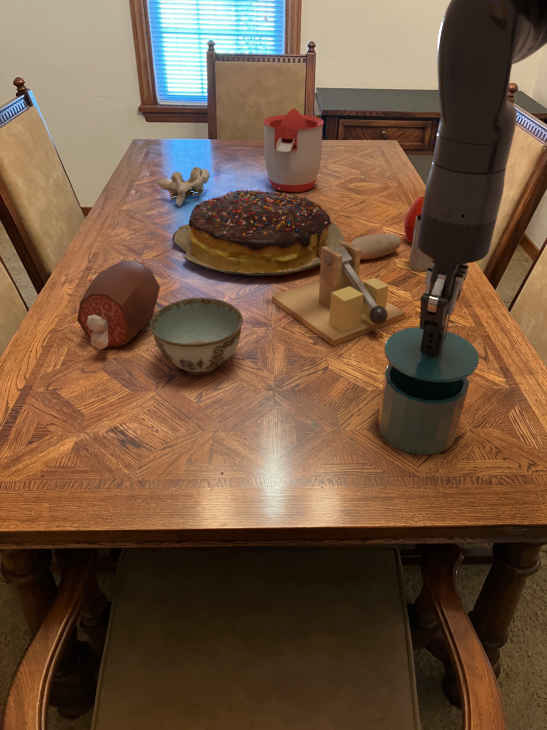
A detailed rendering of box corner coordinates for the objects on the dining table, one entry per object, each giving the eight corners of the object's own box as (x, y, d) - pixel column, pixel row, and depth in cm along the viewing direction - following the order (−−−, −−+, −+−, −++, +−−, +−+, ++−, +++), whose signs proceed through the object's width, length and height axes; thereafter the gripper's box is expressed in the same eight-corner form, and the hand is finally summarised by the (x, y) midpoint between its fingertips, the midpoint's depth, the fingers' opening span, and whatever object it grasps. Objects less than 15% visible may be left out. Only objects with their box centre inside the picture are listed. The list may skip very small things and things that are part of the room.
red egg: (433, 253, 122) (441, 204, 116) (396, 245, 126) (402, 197, 119) (443, 239, 128) (452, 192, 122) (408, 232, 131) (414, 185, 125)
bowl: (247, 340, 94) (246, 298, 90) (240, 391, 83) (238, 345, 79) (165, 339, 95) (159, 296, 90) (147, 389, 84) (140, 343, 79)
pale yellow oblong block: (360, 325, 96) (363, 294, 92) (341, 332, 94) (344, 300, 91) (347, 317, 98) (350, 285, 95) (328, 323, 96) (331, 292, 93)
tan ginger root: (162, 205, 149) (154, 173, 145) (202, 189, 156) (196, 159, 152) (182, 208, 143) (174, 175, 139) (224, 191, 151) (217, 160, 146)
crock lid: (484, 347, 72) (496, 301, 68) (467, 397, 64) (480, 348, 60) (398, 326, 76) (404, 281, 72) (371, 370, 68) (377, 323, 64)
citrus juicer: (254, 194, 152) (252, 114, 140) (273, 175, 165) (273, 100, 154) (311, 200, 148) (314, 118, 137) (326, 180, 162) (330, 104, 150)
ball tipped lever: (386, 324, 95) (394, 315, 92) (372, 330, 94) (380, 320, 91) (339, 255, 99) (346, 244, 97) (326, 259, 98) (332, 248, 95)
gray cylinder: (434, 264, 118) (443, 216, 112) (426, 273, 114) (435, 224, 108) (413, 259, 120) (420, 212, 114) (405, 267, 116) (412, 219, 110)
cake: (301, 207, 145) (301, 167, 140) (377, 263, 117) (381, 216, 111) (159, 232, 134) (153, 189, 128) (205, 299, 106) (200, 249, 100)
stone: (338, 245, 119) (382, 218, 122) (349, 272, 121) (392, 245, 124) (353, 246, 114) (399, 218, 117) (364, 274, 116) (408, 246, 119)
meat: (135, 365, 88) (125, 308, 82) (65, 358, 90) (51, 301, 84) (175, 303, 104) (169, 251, 99) (115, 297, 106) (106, 246, 100)
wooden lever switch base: (404, 318, 100) (414, 256, 93) (333, 346, 93) (338, 281, 86) (339, 279, 112) (343, 221, 105) (271, 301, 105) (271, 241, 98)
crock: (462, 416, 79) (475, 366, 74) (446, 464, 71) (459, 412, 66) (390, 396, 82) (398, 347, 77) (368, 440, 75) (374, 389, 70)
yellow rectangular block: (384, 316, 98) (388, 285, 95) (373, 320, 97) (377, 289, 94) (371, 308, 101) (374, 277, 97) (360, 312, 100) (363, 281, 96)
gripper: (486, 238, 53) (451, 387, 63) (507, 193, 63) (474, 327, 73) (406, 224, 55) (385, 369, 65) (439, 183, 66) (416, 313, 76)
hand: (432, 346), depth 69 cm, fingers closed on crock lid, 2 cm apart
